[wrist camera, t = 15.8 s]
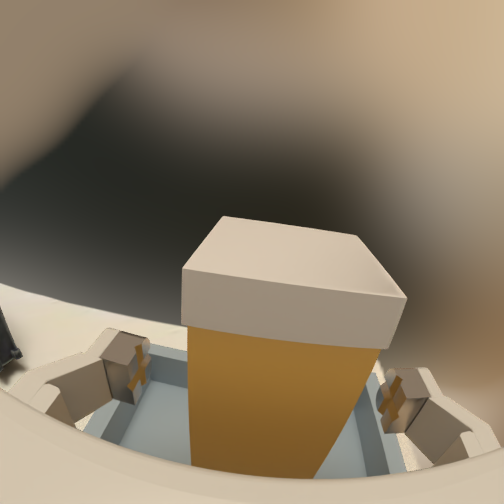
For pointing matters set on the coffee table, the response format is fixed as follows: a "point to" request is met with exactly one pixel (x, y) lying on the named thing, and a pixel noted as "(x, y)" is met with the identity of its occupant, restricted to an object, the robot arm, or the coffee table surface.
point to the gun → (7, 344)
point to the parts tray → (177, 424)
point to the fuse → (280, 343)
